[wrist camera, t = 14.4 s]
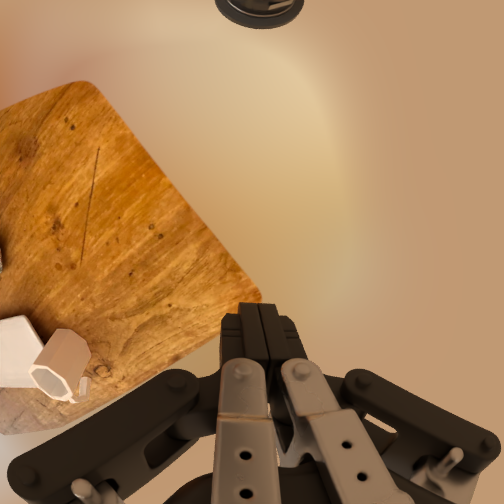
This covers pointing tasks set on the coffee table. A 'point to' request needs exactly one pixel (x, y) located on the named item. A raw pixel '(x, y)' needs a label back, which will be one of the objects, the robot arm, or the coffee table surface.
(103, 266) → the coffee table surface
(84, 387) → the mug
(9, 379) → the white slab
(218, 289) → the coffee table surface
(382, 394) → the robot arm
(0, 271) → the seashell
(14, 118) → the coffee table surface
